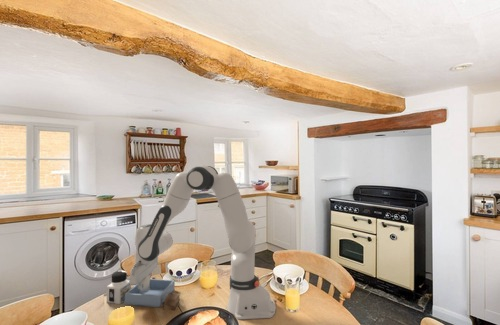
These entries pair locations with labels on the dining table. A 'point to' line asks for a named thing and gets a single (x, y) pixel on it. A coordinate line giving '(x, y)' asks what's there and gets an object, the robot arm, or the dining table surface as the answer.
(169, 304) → the walnut cube
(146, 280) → the cream cylinder
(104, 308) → the dining table surface
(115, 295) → the container
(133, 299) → the tote
